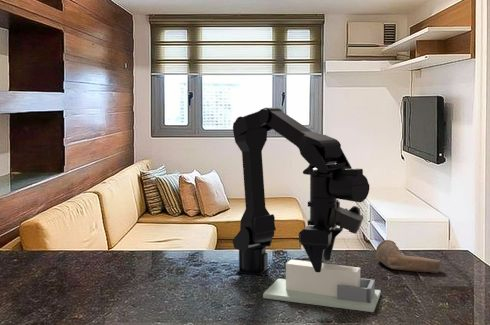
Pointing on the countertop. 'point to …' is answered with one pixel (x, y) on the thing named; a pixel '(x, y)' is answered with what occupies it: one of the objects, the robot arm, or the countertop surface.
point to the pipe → (404, 259)
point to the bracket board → (346, 296)
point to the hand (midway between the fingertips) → (322, 266)
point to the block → (320, 277)
